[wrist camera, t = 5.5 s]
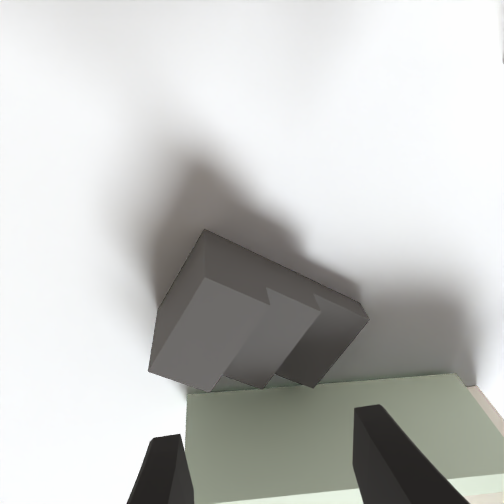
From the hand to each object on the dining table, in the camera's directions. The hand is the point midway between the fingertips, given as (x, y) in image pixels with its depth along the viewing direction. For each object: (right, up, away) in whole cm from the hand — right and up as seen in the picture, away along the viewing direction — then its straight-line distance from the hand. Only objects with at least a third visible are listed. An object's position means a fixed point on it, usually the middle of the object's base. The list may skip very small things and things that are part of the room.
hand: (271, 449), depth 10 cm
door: (+3, -3, +11) cm, 12 cm away
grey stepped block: (0, +2, +9) cm, 9 cm away
